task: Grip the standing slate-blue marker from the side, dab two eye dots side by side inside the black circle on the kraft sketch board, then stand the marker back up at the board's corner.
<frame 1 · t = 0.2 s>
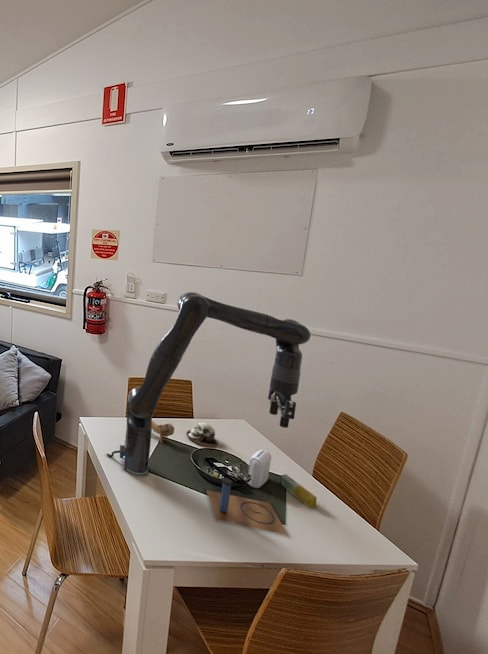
hand: (278, 420, 131), 29 cm above the table, tool pointing down, fingers open, 8 cm apart
sketch board: (244, 511, 128), on the table
face circle: (257, 512, 127), resting on sketch board
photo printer: (257, 482, 142), on the table
lion figurine: (157, 437, 170), on the table
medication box: (296, 496, 135), on the table
marker: (223, 511, 127), resting on sketch board
skull: (201, 439, 169), on the table
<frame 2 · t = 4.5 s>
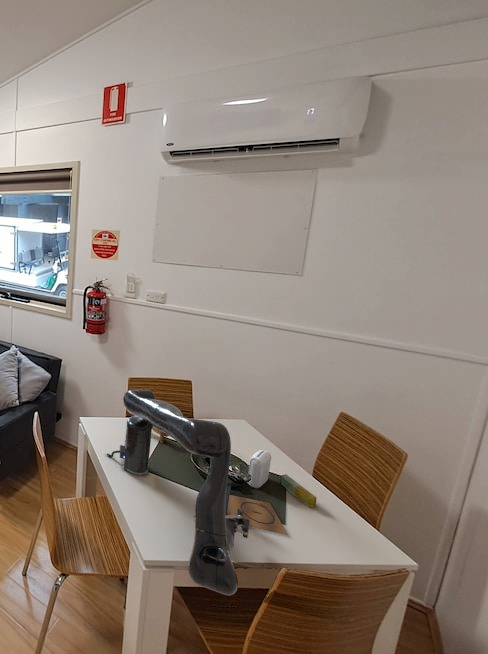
hand: (222, 506, 119), 8 cm above the table, tool horizontal, fingers open, 8 cm apart
nothing on the table moved.
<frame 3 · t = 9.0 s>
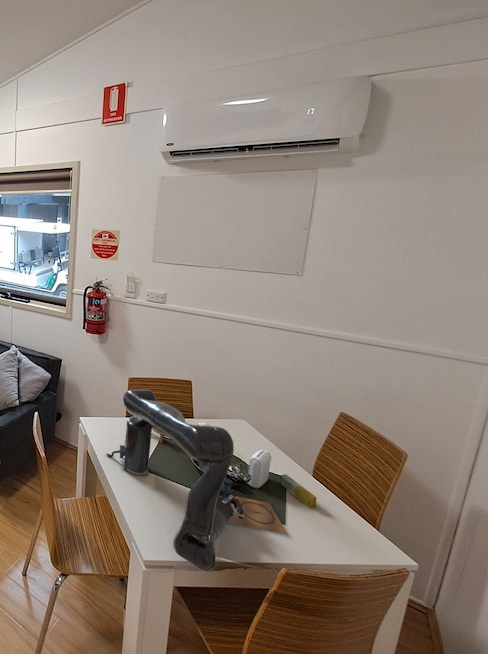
hand: (227, 489, 128), 7 cm above the table, tool horizontal, fingers closed on marker, 2 cm apart
marker: (223, 511, 127), resting on sketch board, touching gripper
everything else where it was.
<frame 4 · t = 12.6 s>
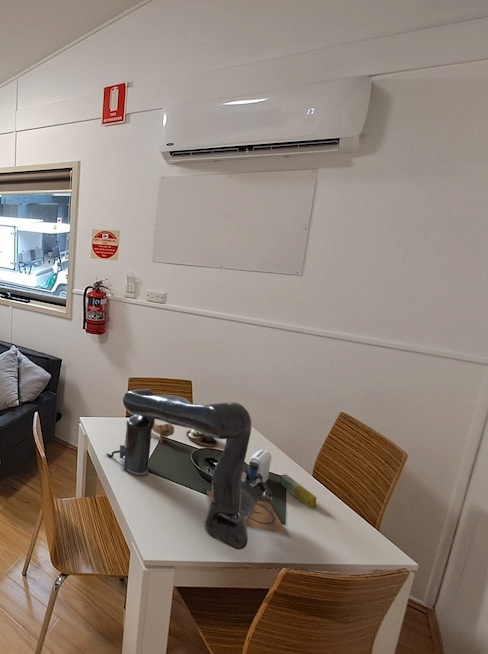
hand: (254, 473, 128), 13 cm above the table, tool horizontal, fingers closed on marker, 2 cm apart
marker: (249, 495, 127), point 6 cm above the table, touching gripper
everything else where it was.
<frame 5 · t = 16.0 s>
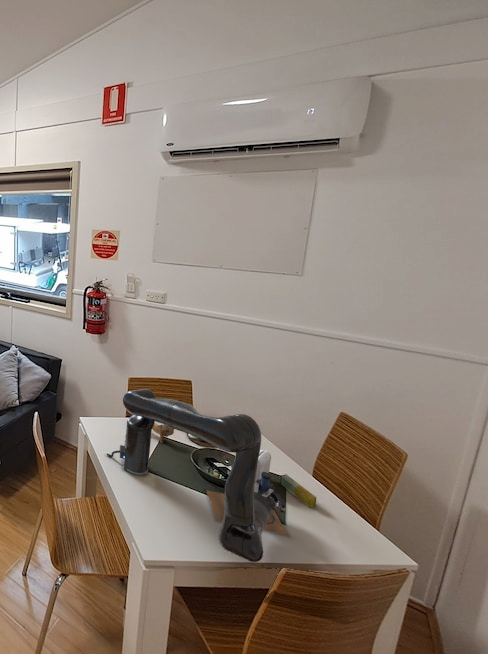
hand: (266, 483, 128), 10 cm above the table, tool horizontal, fingers closed on marker, 2 cm apart
marker: (261, 505, 127), point 3 cm above the table, touching gripper
everything else where it was.
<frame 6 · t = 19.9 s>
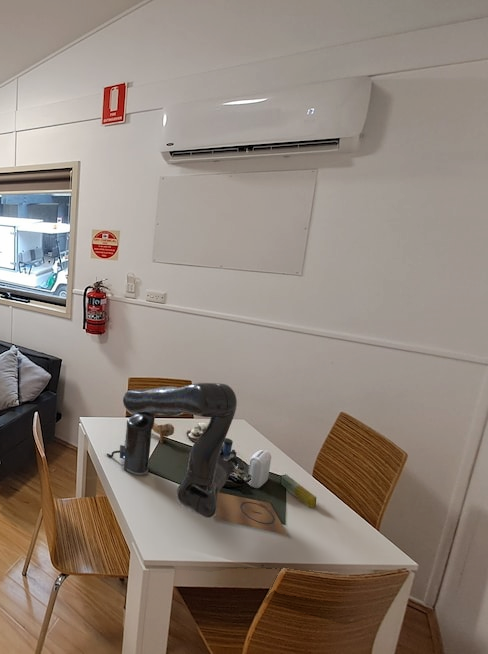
hand: (228, 450, 133), 18 cm above the table, tool horizontal, fingers closed on marker, 2 cm apart
marker: (224, 471, 132), point 11 cm above the table, touching gripper
everything else where it was.
when the fingers open (7 cm above the table, at t = 23.0 s): marker stays where it is, resting on sketch board.
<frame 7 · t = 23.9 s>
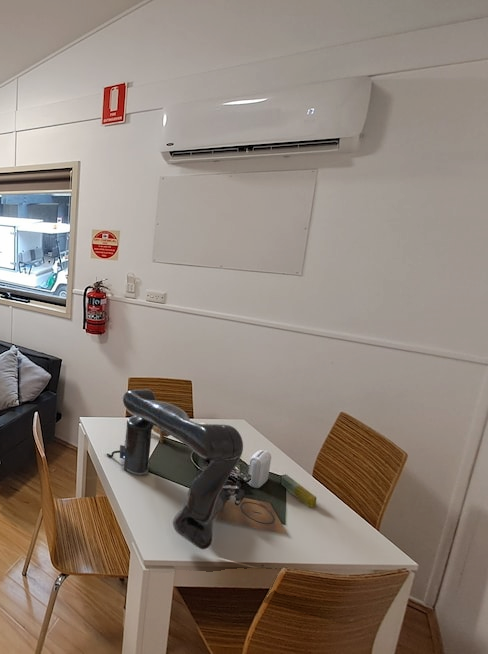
hand: (224, 476, 134), 8 cm above the table, tool horizontal, fingers open, 8 cm apart
marker: (220, 497, 133), resting on sketch board
everything else where it was.
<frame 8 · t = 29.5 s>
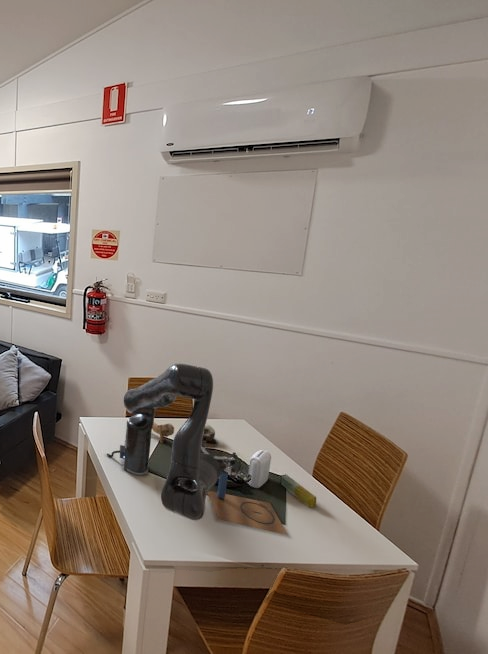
hand: (219, 448, 122), 25 cm above the table, tool horizontal, fingers open, 8 cm apart
nothing on the table moved.
at the end: marker 0.2 cm from the target spot, resting on sketch board; marker tilted 0°; the gripper is holding nothing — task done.
